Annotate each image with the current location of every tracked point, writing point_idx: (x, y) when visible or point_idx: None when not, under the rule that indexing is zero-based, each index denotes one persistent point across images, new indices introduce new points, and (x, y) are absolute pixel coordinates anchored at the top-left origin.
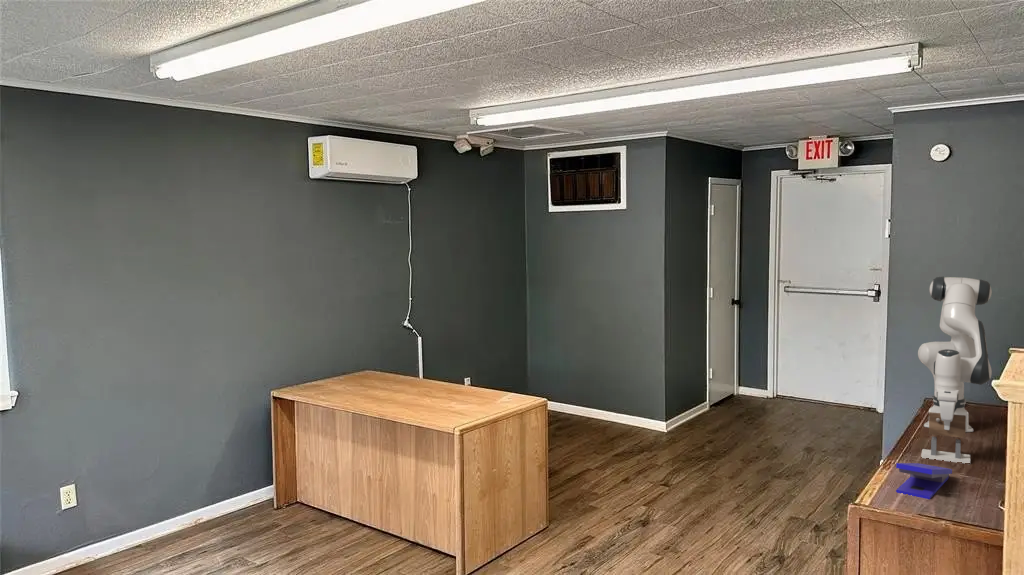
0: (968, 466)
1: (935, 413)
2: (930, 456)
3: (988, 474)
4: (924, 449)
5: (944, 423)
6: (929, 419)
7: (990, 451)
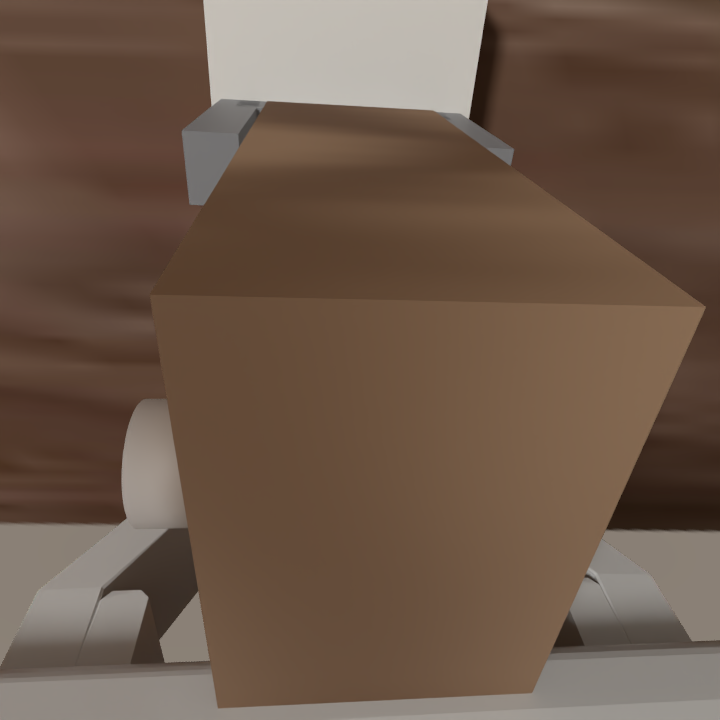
0: (162, 394)
1: (404, 555)
2: (212, 91)
3: (27, 491)
4: (468, 20)
5: (116, 535)
6: (213, 199)
7: (661, 507)
